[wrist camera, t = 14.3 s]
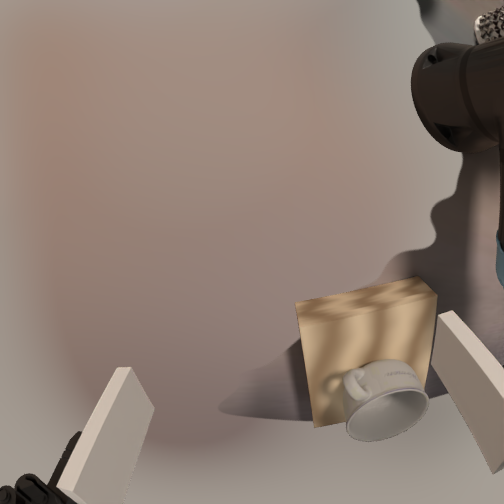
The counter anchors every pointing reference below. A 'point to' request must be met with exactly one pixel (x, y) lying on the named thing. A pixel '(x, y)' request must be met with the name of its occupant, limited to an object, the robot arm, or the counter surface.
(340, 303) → the wooden riser stand
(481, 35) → the decorative candle
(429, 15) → the counter surface
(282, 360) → the counter surface
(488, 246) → the counter surface
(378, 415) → the teacup
